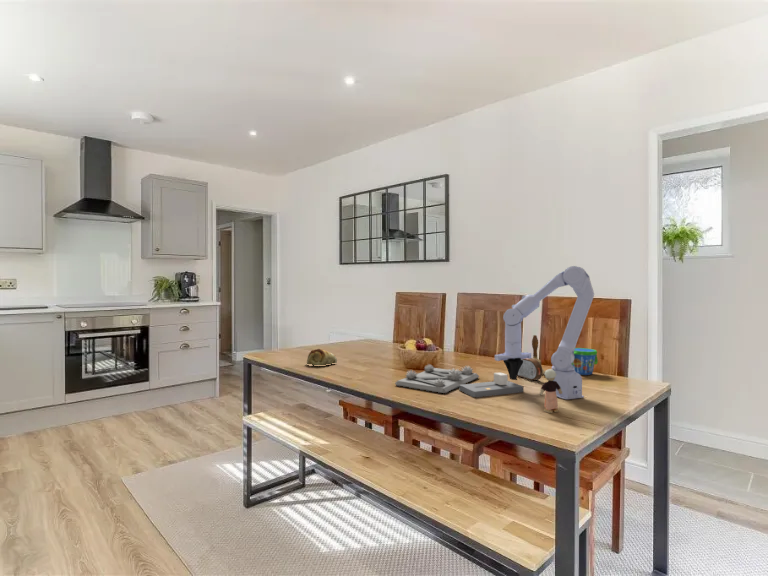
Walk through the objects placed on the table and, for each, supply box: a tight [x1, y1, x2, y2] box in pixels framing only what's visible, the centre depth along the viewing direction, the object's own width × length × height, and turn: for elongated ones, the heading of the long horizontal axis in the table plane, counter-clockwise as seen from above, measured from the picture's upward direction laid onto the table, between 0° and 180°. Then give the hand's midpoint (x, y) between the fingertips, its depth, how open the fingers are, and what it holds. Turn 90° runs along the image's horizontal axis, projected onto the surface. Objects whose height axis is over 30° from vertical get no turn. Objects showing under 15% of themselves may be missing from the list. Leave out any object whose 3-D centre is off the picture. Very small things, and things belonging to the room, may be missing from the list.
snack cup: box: [572, 347, 599, 376], centre depth 178 cm, size 16×10×10 cm
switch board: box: [458, 380, 525, 398], centre depth 150 cm, size 10×20×2 cm, turn 110°
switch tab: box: [493, 371, 509, 385], centre depth 152 cm, size 4×3×4 cm
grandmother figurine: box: [539, 368, 562, 414], centre depth 127 cm, size 8×4×13 cm, turn 118°
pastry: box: [306, 348, 338, 365], centre depth 200 cm, size 14×12×8 cm
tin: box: [517, 357, 543, 381], centre depth 170 cm, size 15×3×8 cm, turn 22°
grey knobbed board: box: [394, 364, 480, 394], centre depth 165 cm, size 30×22×7 cm
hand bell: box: [531, 334, 546, 375], centre depth 180 cm, size 8×8×16 cm
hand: (513, 379), depth 154 cm, fingers closed
